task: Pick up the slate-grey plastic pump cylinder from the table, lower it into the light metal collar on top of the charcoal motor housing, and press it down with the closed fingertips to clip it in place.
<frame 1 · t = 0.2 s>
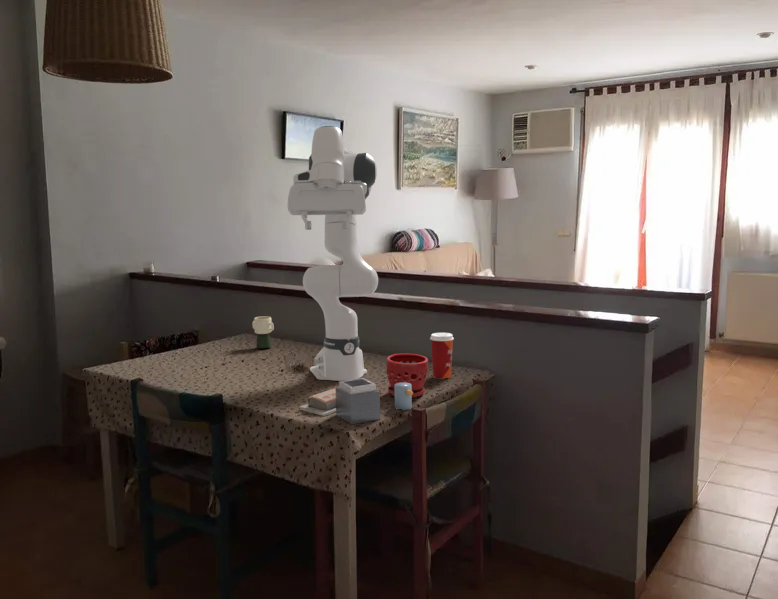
hand: (326, 228, 173), 54 cm above the table, tool tilted 30°, fingers open, 8 cm apart
packaged product: (332, 407, 202), on the table
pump: (403, 407, 200), on the table
motor: (357, 417, 191), on the table
coffee cup: (441, 377, 233), on the table
character mug: (263, 348, 282), on the table
plant pot: (407, 395, 213), on the table
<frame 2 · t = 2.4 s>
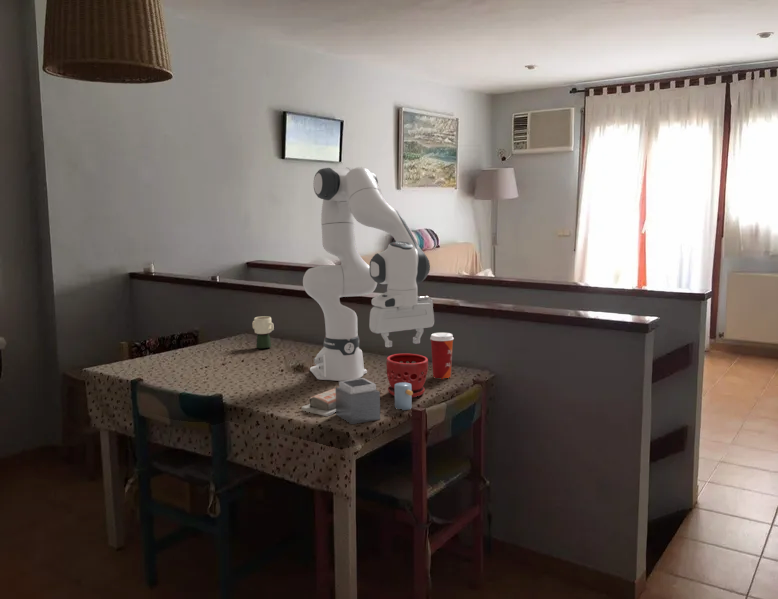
hand: (402, 345, 197), 19 cm above the table, tool pointing down, fingers open, 8 cm apart
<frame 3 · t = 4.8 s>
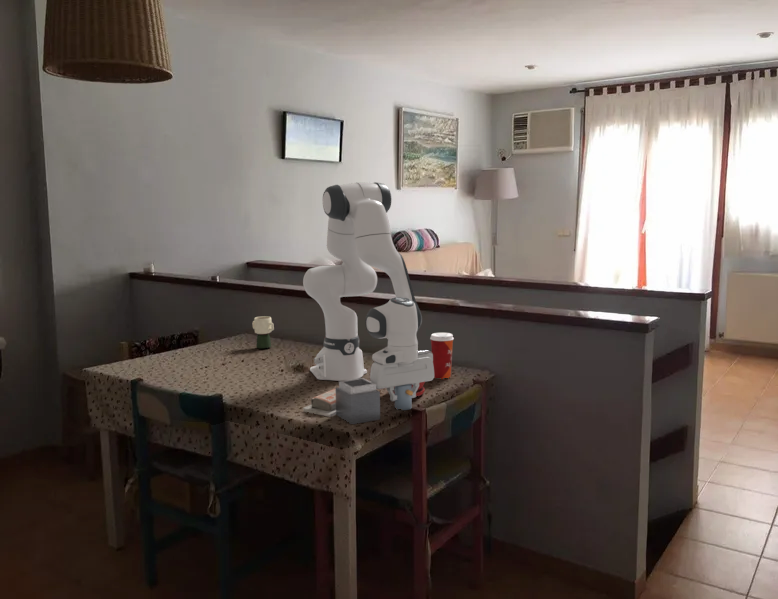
hand: (403, 399, 199), 3 cm above the table, tool pointing down, fingers closed on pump, 5 cm apart
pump: (403, 407, 200), on the table, touching gripper
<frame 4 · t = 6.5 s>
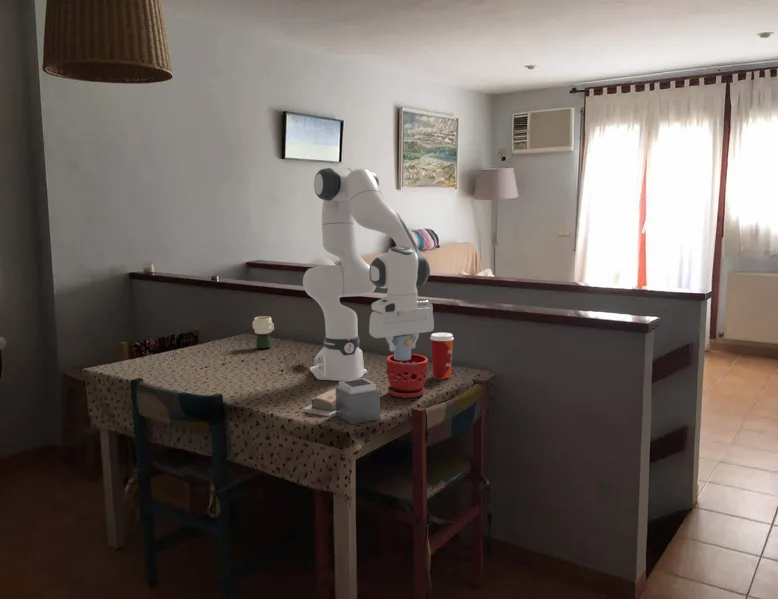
hand: (402, 349, 197), 18 cm above the table, tool pointing down, fingers closed on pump, 5 cm apart
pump: (402, 358, 198), point 15 cm above the table, touching gripper
when the fingers open (12 cm above the table, at t = 9.9 s): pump drops 1 cm, resting on motor.
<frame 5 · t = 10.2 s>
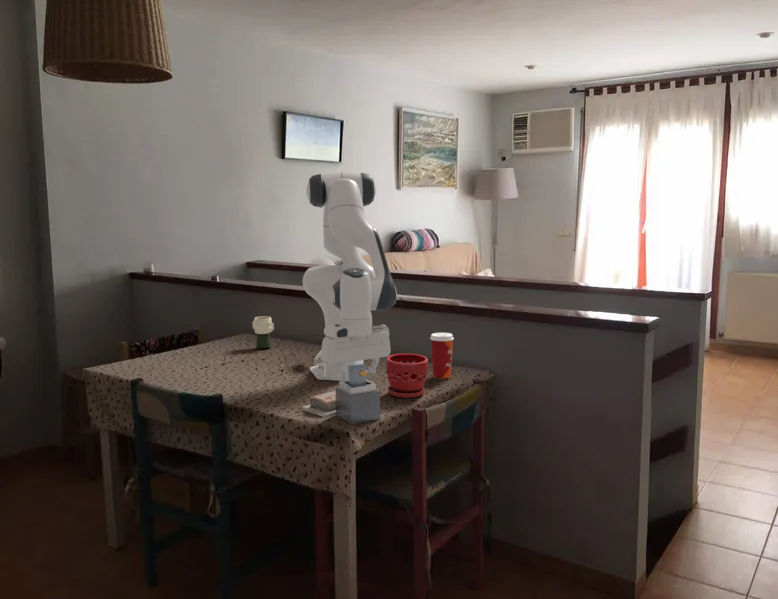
hand: (357, 375, 190), 12 cm above the table, tool pointing down, fingers open, 8 cm apart
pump: (357, 389, 190), point 8 cm above the table, touching motor
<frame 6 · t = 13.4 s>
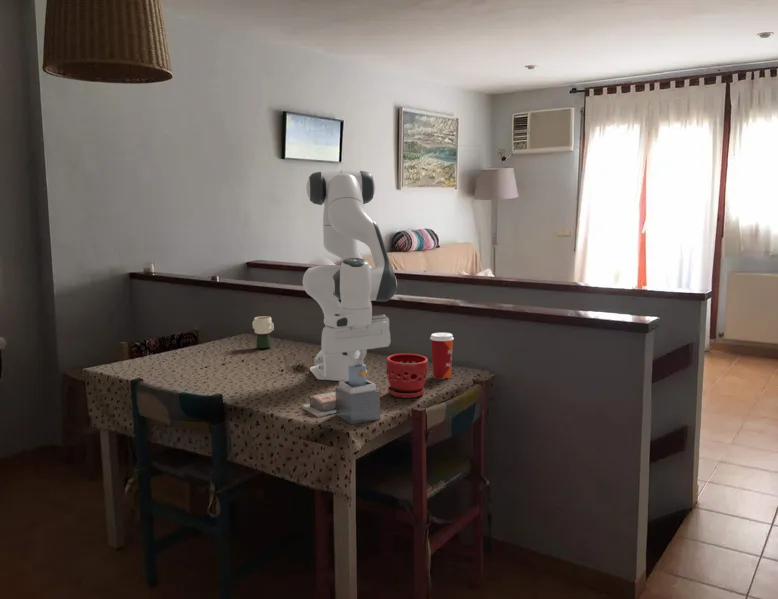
hand: (357, 365, 189), 15 cm above the table, tool pointing down, fingers closed, pressing on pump
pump: (357, 389, 190), point 8 cm above the table, touching gripper, motor
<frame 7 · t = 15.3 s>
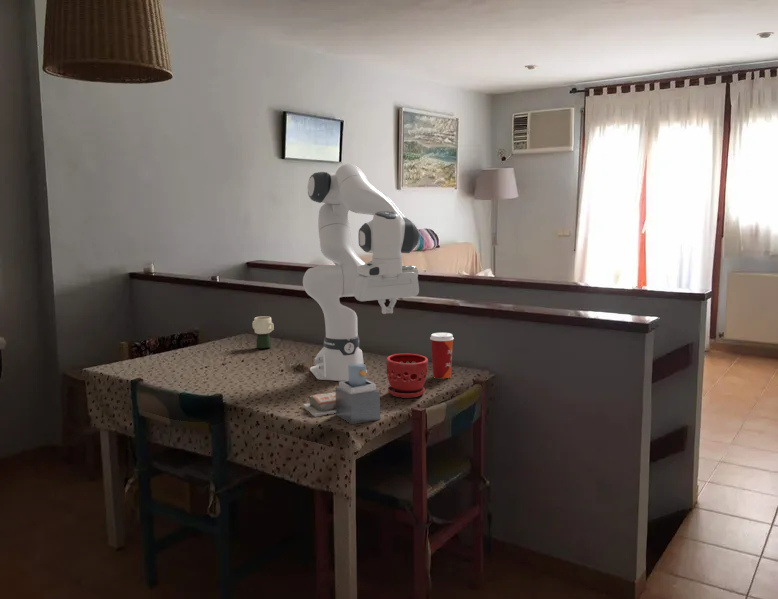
hand: (387, 313, 201), 27 cm above the table, tool pointing down, fingers closed
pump: (357, 389, 190), point 8 cm above the table, touching motor
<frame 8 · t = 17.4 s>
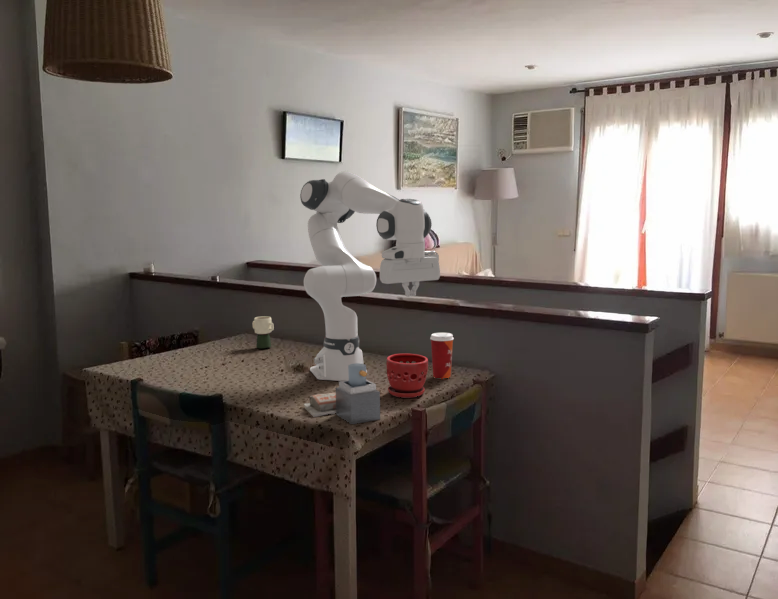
hand: (410, 296, 210), 31 cm above the table, tool pointing down, fingers closed
at the end: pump 0.0 cm off-centre on the motor, point 8.0 cm above the motor's base; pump tilted 0°; the gripper is holding nothing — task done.
